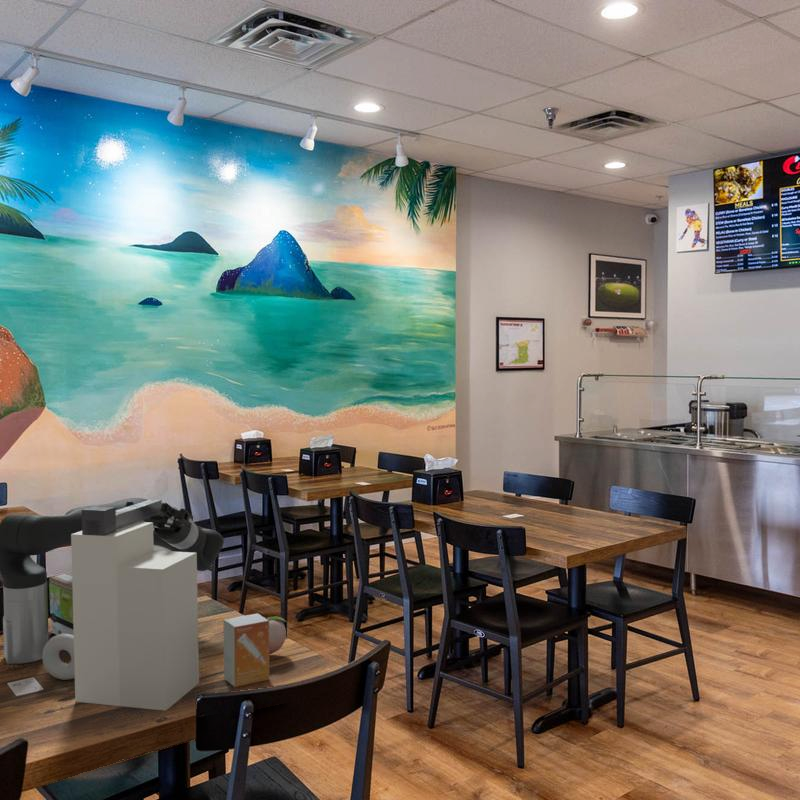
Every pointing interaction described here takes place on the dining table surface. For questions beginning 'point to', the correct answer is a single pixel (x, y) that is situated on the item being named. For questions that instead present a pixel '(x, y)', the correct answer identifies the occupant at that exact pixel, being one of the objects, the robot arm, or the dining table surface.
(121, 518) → the metal bar
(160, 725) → the dining table surface
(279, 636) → the decorative fruit
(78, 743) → the dining table surface
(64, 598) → the tea box
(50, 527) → the robot arm
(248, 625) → the small box
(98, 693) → the two tier stand
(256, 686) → the dining table surface
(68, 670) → the donut
